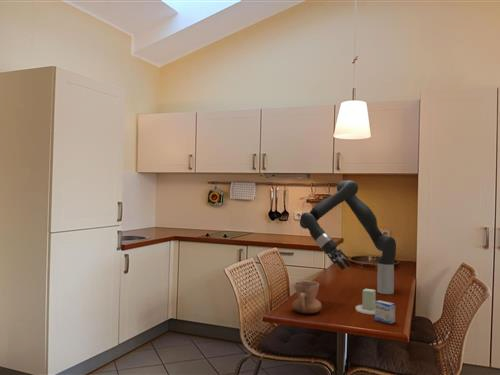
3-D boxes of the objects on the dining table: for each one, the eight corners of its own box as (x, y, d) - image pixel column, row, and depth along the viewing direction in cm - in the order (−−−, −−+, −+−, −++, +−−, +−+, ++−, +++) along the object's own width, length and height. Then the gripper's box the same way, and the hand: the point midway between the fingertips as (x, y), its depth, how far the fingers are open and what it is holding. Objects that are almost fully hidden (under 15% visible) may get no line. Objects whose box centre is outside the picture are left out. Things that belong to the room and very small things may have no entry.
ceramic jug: (298, 305, 215) (298, 278, 215) (325, 308, 209) (325, 280, 209) (286, 315, 199) (286, 286, 199) (315, 319, 193) (315, 289, 193)
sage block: (365, 306, 211) (365, 288, 211) (375, 307, 208) (375, 289, 208) (362, 308, 206) (362, 290, 206) (372, 310, 204) (372, 291, 204)
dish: (360, 305, 216) (360, 303, 216) (385, 309, 209) (385, 307, 209) (352, 311, 205) (352, 309, 205) (378, 316, 198) (378, 313, 198)
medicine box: (374, 320, 192) (374, 301, 192) (379, 318, 195) (379, 299, 195) (390, 324, 187) (390, 305, 187) (395, 322, 190) (395, 303, 190)
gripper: (325, 240, 212) (347, 265, 206) (336, 237, 224) (356, 260, 218) (316, 249, 215) (337, 274, 209) (326, 246, 227) (346, 269, 221)
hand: (346, 267), depth 213 cm, fingers open, 8 cm apart
